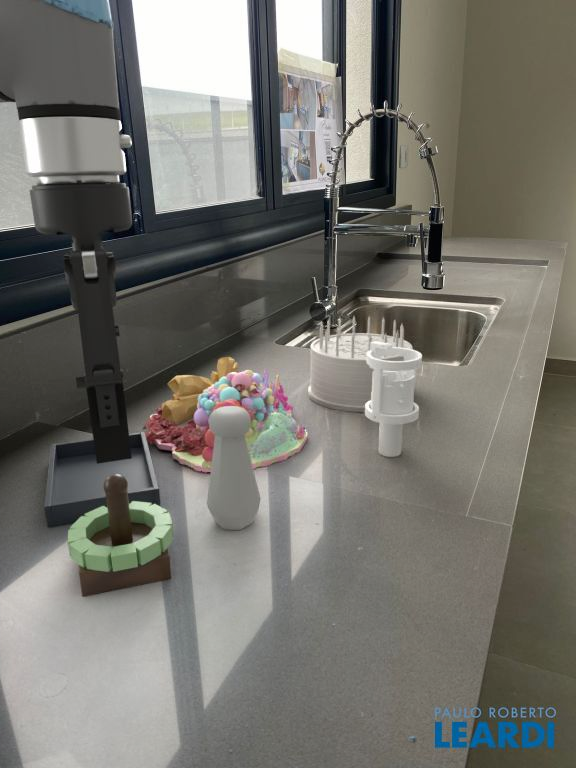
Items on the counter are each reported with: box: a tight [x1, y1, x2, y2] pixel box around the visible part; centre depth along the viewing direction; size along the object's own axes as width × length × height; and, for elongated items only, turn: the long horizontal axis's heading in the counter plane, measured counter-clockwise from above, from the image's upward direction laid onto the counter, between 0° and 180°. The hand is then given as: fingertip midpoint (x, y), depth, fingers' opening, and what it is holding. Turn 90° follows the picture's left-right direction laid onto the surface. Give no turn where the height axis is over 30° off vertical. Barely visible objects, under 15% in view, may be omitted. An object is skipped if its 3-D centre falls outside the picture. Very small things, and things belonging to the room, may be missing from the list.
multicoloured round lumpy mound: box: [141, 356, 309, 473], centre depth 88 cm, size 25×24×9 cm
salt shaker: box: [206, 406, 262, 531], centre depth 64 cm, size 6×6×13 cm
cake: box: [307, 315, 414, 413], centre depth 103 cm, size 18×18×13 cm
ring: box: [67, 501, 174, 572], centre depth 58 cm, size 10×10×2 cm
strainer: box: [364, 341, 423, 458], centre depth 80 cm, size 7×7×15 cm
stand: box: [78, 474, 172, 597], centre depth 58 cm, size 8×8×10 cm
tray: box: [43, 431, 162, 528], centre depth 75 cm, size 12×17×2 cm
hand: (110, 428), depth 55 cm, fingers open, 13 cm apart
